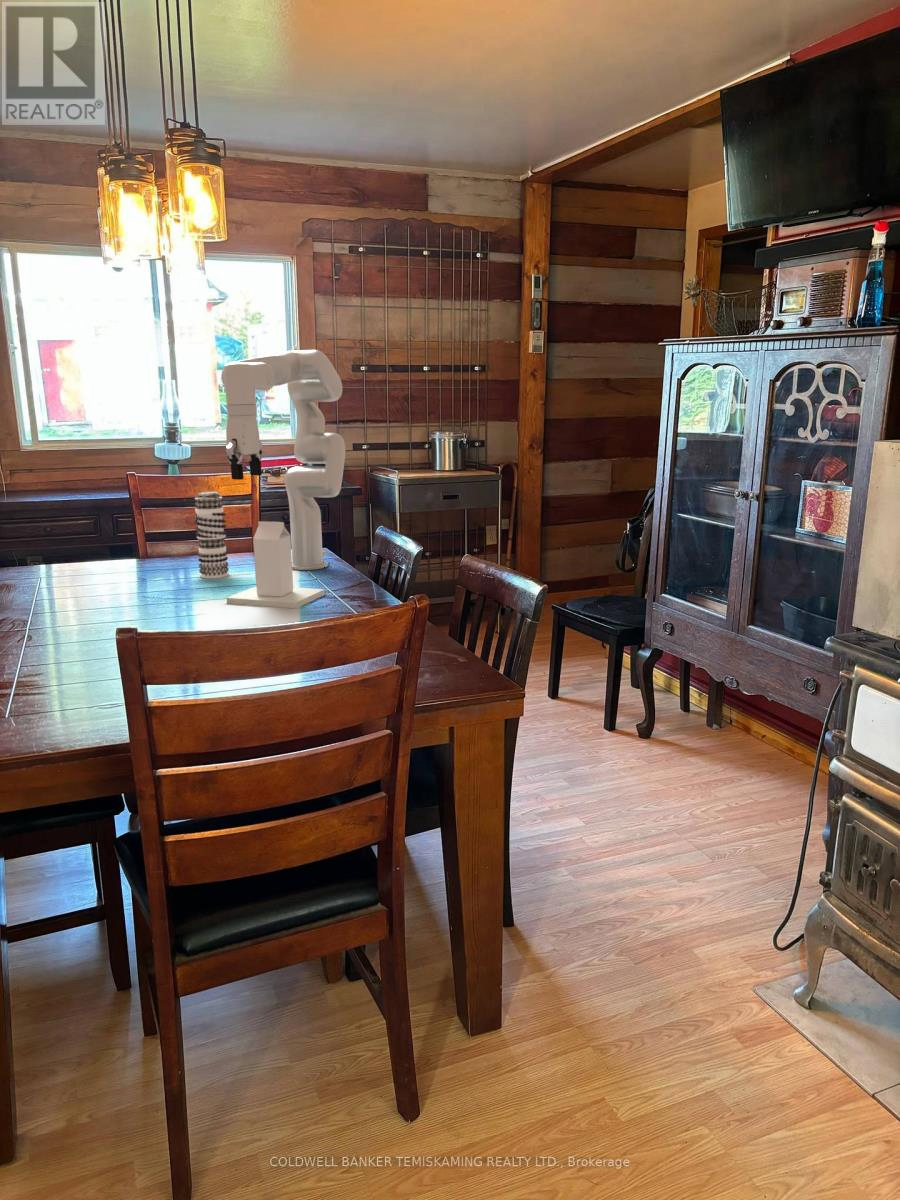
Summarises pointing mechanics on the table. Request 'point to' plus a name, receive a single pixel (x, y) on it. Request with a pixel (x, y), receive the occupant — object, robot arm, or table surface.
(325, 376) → the robot arm
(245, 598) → the serving board
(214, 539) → the decorative candle
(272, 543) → the milk carton
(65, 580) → the table surface
